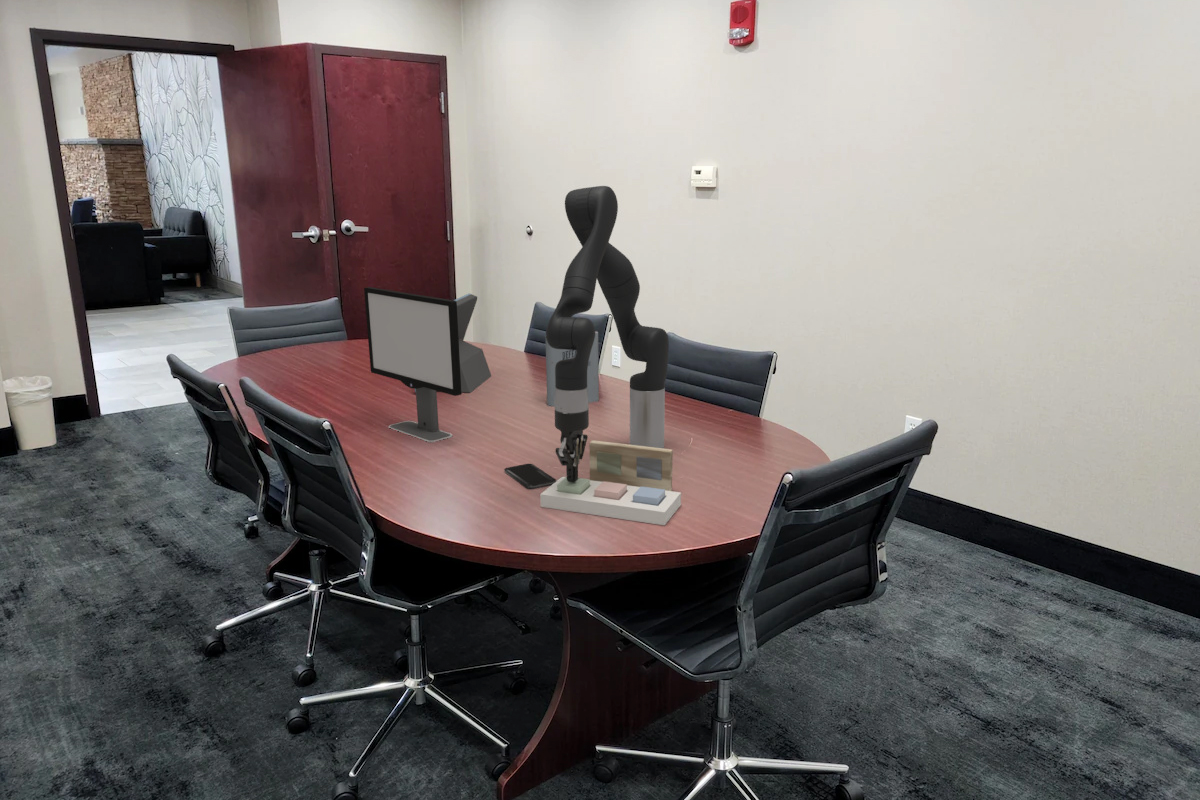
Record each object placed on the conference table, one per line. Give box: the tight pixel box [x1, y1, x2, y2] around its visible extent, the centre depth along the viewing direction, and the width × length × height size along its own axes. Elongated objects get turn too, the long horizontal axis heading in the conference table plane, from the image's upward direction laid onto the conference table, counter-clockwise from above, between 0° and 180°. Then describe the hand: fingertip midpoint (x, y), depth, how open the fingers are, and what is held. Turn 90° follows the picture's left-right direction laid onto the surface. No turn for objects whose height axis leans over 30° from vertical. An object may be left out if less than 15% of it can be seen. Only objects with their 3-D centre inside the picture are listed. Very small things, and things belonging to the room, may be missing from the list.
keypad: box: [539, 476, 682, 526], centre depth 189 cm, size 12×29×3 cm, turn 68°
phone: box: [503, 463, 557, 490], centre depth 207 cm, size 8×1×15 cm
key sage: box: [557, 476, 590, 495], centre depth 192 cm, size 6×6×3 cm
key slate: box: [633, 486, 665, 506], centre depth 185 cm, size 6×6×3 cm
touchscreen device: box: [414, 293, 492, 394], centre depth 295 cm, size 35×20×30 cm, turn 170°
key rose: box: [594, 481, 627, 500], centre depth 189 cm, size 6×6×3 cm
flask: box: [545, 330, 600, 407], centre depth 269 cm, size 17×5×25 cm, turn 112°
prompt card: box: [588, 440, 674, 491], centre depth 200 cm, size 2×20×10 cm, turn 68°
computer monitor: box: [363, 286, 462, 443], centre depth 238 cm, size 41×8×40 cm, turn 47°
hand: (572, 480), depth 191 cm, fingers closed
